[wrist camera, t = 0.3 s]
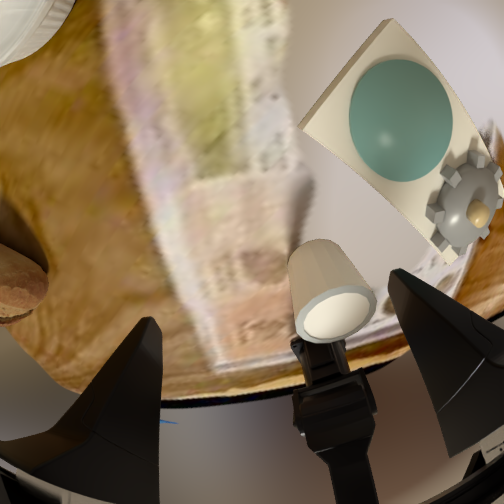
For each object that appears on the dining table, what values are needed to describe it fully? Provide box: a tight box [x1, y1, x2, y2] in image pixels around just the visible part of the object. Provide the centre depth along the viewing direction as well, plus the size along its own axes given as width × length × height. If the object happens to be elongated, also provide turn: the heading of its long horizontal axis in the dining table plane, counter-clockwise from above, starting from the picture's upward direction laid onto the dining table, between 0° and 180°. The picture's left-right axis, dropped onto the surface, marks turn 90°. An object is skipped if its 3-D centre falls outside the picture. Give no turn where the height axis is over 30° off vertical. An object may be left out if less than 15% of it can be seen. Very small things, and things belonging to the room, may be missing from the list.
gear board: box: [297, 18, 504, 266], centre depth 18 cm, size 24×12×4 cm, turn 56°
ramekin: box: [0, 0, 75, 67], centre depth 7 cm, size 11×11×5 cm
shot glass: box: [287, 239, 377, 343], centre depth 23 cm, size 7×7×7 cm
